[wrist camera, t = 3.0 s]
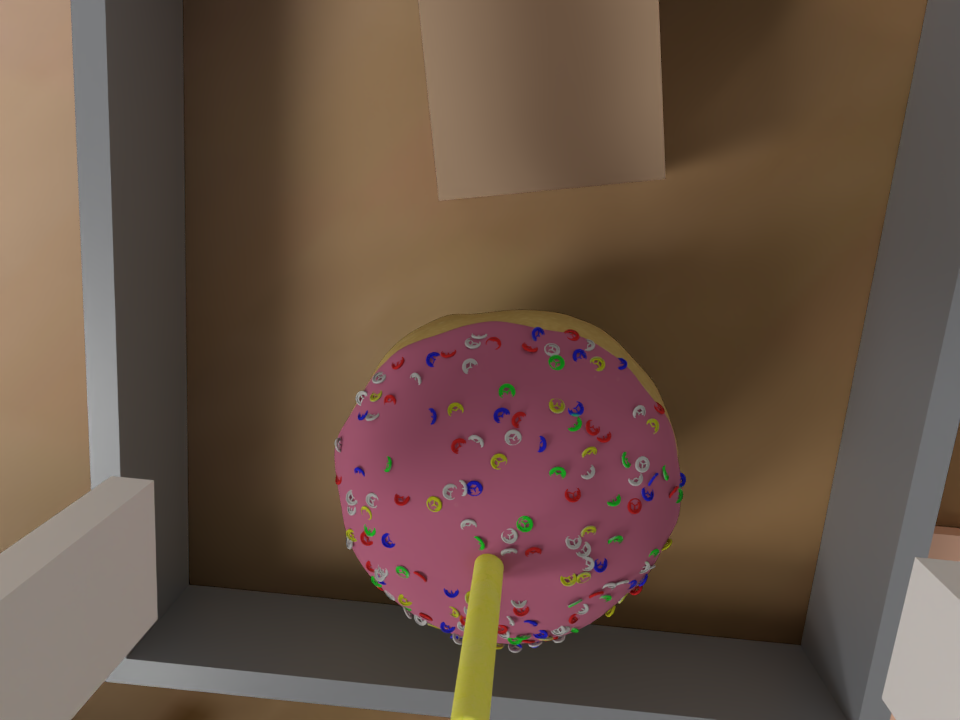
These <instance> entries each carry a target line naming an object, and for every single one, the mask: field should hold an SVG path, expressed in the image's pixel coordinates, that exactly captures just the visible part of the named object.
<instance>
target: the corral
mask: <svg viewBox="0 0 960 720" xmlns="http://www.w3.org/2000/svg"><path fill="white" fill-rule="evenodd" d="M71 21H72V45H73V69H74V93H75V117H76V141H77V164H78V188H79V212H80V236H81V260H82V283H83V307H84V331H85V355H86V379H87V403H88V426H89V450H90V474H91V490H92V489H94V488H95V487H97V486H98V485H99V484H101V483H102V482H104V481H105V480H107V479H108V478H110V477H111V476H116V477H126V478H136V479H146V480H154V505H155V541H156V577H157V613H158V619H157V620H156V622H155V623H154V624H153V625H152V626H151V627H150V629H149V630H148V631H147V632H146V633H145V634H144V636H143V637H142V638H141V639H140V640H139V641H138V643H137V644H136V645H135V646H134V647H133V648H132V650H131V651H130V652H129V653H128V654H127V655H126V657H125V658H124V659H123V660H122V661H121V662H120V664H119V665H118V666H117V667H116V668H115V669H114V671H113V672H112V673H111V674H110V675H109V676H108V678H107V679H106V680H105V681H104V682H113V683H123V684H132V685H142V686H151V687H161V688H171V689H180V690H190V691H200V692H209V693H219V694H228V695H238V696H248V697H257V698H267V699H276V700H286V701H296V702H305V703H315V704H324V705H334V706H344V707H353V708H363V709H372V710H382V711H392V712H401V713H411V714H421V715H430V716H440V717H449V718H451V713H452V706H453V700H454V693H455V687H456V680H457V674H458V667H459V661H460V654H461V648H462V644H461V645H458V644H456V643H455V642H454V641H453V639H451V638H450V636H451V635H453V634H451V633H445V632H443V631H442V630H441V629H437V628H435V627H432V626H429V625H427V623H426V624H425V625H423V626H422V625H419V624H418V623H417V622H416V621H415V619H414V615H413V614H412V616H413V617H412V618H411V619H409V618H408V617H407V616H406V614H405V612H404V609H403V607H402V606H400V605H390V604H380V603H369V602H359V601H349V600H339V599H329V598H319V597H309V596H299V595H289V594H279V593H269V592H259V591H249V590H238V589H228V588H218V587H208V586H198V585H189V544H188V451H187V358H186V264H185V171H184V78H183V0H71ZM959 422H960V0H928V2H927V7H926V12H925V17H924V22H923V27H922V32H921V37H920V42H919V47H918V52H917V57H916V63H915V68H914V73H913V78H912V83H911V88H910V93H909V98H908V103H907V108H906V113H905V118H904V123H903V129H902V134H901V139H900V144H899V149H898V154H897V159H896V164H895V169H894V174H893V179H892V184H891V189H890V195H889V200H888V205H887V210H886V215H885V220H884V225H883V230H882V235H881V240H880V245H879V250H878V255H877V260H876V266H875V271H874V276H873V281H872V286H871V291H870V296H869V301H868V306H867V311H866V316H865V321H864V326H863V332H862V337H861V342H860V347H859V352H858V357H857V362H856V367H855V372H854V377H853V382H852V387H851V392H850V397H849V403H848V408H847V413H846V418H845V423H844V428H843V433H842V438H841V443H840V448H839V453H838V458H837V463H836V469H835V474H834V479H833V484H832V489H831V494H830V499H829V504H828V509H827V514H826V519H825V524H824V529H823V534H822V540H821V545H820V550H819V555H818V560H817V565H816V570H815V575H814V580H813V585H812V590H811V595H810V600H809V606H808V611H807V616H806V621H805V626H804V631H803V636H802V641H801V645H793V644H782V643H772V642H762V641H752V640H742V639H732V638H722V637H712V636H702V635H692V634H682V633H672V632H662V631H652V630H641V629H631V628H621V627H611V626H601V625H591V624H589V625H587V626H585V627H583V628H581V629H579V632H577V633H573V632H572V633H569V634H566V636H565V639H564V641H562V642H560V643H555V642H554V641H553V640H552V641H543V642H542V644H541V645H539V646H538V647H536V648H532V647H530V646H529V645H528V643H522V650H521V651H520V652H518V653H513V652H511V651H510V650H509V649H508V645H509V644H504V647H503V648H502V649H496V655H495V666H494V677H493V687H492V698H491V708H490V719H489V720H890V717H891V712H890V710H889V709H888V707H887V706H886V704H885V703H884V701H883V700H882V695H883V690H884V686H885V682H886V678H887V674H888V669H889V665H890V661H891V657H892V652H893V648H894V644H895V640H896V636H897V631H898V627H899V623H900V619H901V614H902V610H903V606H904V602H905V598H906V593H907V589H908V585H909V581H910V576H911V572H912V568H913V564H914V560H915V557H920V558H928V555H929V550H930V546H931V542H932V537H933V533H934V529H935V525H936V520H937V516H938V512H939V507H940V503H941V499H942V495H943V490H944V486H945V482H946V477H947V473H948V469H949V465H950V460H951V456H952V452H953V447H954V443H955V439H956V435H957V430H958V426H959ZM408 614H409V613H408ZM418 620H419V621H420V622H422V621H421V619H419V618H418ZM561 638H562V637H559V638H558V639H561ZM457 640H458V639H457ZM459 641H462V639H459ZM536 643H537V642H536ZM499 644H501V643H499ZM532 644H535V643H532ZM496 646H500V645H498V644H497V645H496ZM513 646H515V645H513V644H512V647H513ZM516 646H517V645H516ZM517 647H518V646H517ZM513 649H514V650H516V649H518V648H516V647H514V648H513Z"/></svg>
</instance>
